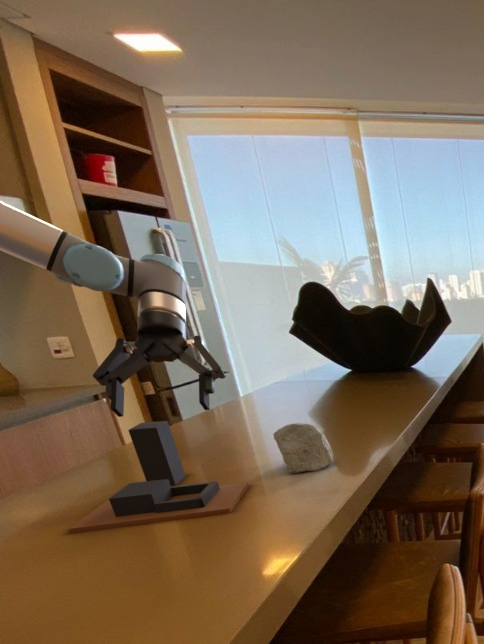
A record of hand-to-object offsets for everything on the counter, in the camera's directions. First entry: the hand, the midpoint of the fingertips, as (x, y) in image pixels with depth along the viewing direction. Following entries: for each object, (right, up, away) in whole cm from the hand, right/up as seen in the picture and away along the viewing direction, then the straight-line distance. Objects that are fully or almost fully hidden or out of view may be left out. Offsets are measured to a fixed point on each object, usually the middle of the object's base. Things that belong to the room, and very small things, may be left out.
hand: (161, 409), depth 107 cm
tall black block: (+3, -14, -2) cm, 15 cm away
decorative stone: (+24, -11, +7) cm, 27 cm away
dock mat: (+14, -19, -14) cm, 27 cm away
